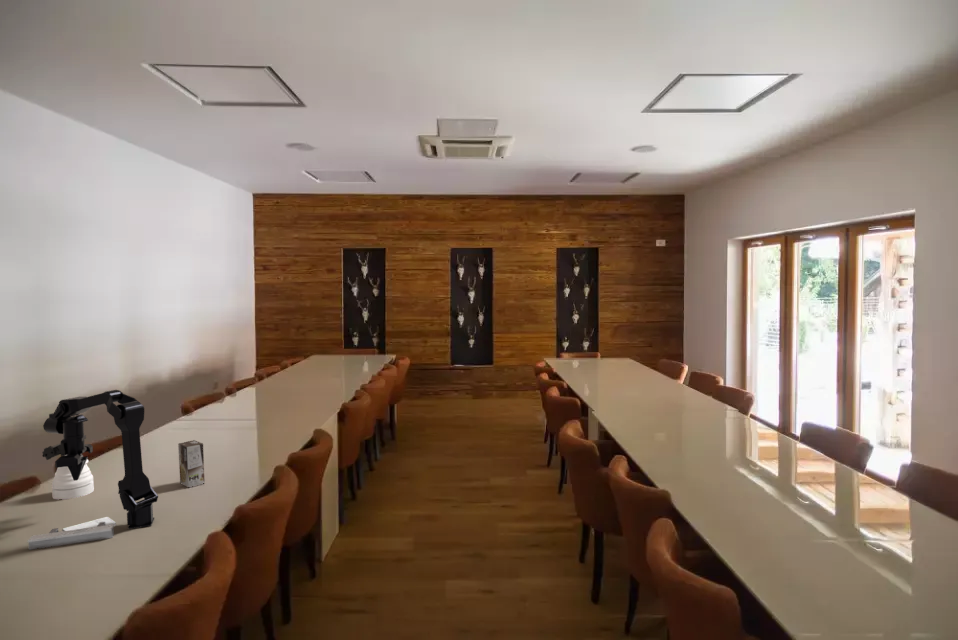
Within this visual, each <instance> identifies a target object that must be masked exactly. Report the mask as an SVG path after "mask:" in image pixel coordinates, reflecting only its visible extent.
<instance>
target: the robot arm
mask: <svg viewBox="0 0 958 640" xmlns="http://www.w3.org/2000/svg"><path fill="white" fill-rule="evenodd" d="M115 403H118V404H117V405H116V404H115ZM102 405H105V406H106V412H107V413H108V414H109V415H110V416H111V417H113V420H114V424H115V425H116V427H117V428H118V429H119V430H120V432H121V442H122V443H121V444H122V456H123V465H124V467H123V468H124V476H123V478H122V479H121V480H118V482H117V486H118V487H117V488H118V491H117V492H118V495H119V499H120V502H121V504H122V507H123V510H124V511H126V512H127V513H126V521H127V526H128V527H127V529H128V530H131V529H137V528H138V529H139V528H145V527H151V526H152V525H153V523H154V521H155V517H154V509H153V508H154V506H153V505H154V503H157V502H158V499H159V495H158V494H157V492H156V491H155V490H154V488H153V487H152V486H151V484H150V479H149V477H148V476H147V474H145V473H144V469H143V459H142V458H143V457H142V445H141V434H140V433H141V431H140V428H141V427H142V425H143V423H144V420H145V406H144V405H143V404H142V403H141V402H140V401H139V400H137V399H136V398H135V397H133V396H130V395H128V394H125V393H124V392H122V391H121V390H119V389H112V390H106V391H103V392H102V393H98V394H94V395H91V396H75V397H71V398H67V399H66V398H64V399H60V401H59V402H58V404H57V406H56V408H55V410H54V412H53V413H49V414H48V418H46V420H45V421H44V423H43V424H42V425H43V426H42V427H43V430H44V432H46V433H48V434H56V435H57V434H58V435H59V434H60V435H63V439H62V440H61V441H60V443H57V444H55V445H53V446H52V445H50V446H48V447H45V448H43V450H42V457H43V458H45V459H46V461H48V460H51V459H52V458H55V457H57V456H59V455H60V457H58V458H57V459H56V460H55V461H54V468H56V469H57V468H58V467H68V468H69V470H70V472H71V475H72V477H73V480H74V481H75V480H78V479H79V477H80V474H81V472H82V469H83V467H84V465H85V463H86V460H87V459H88V458H89V456H87V455H86V456H84V454H83V453H87V452H88V454H92V453H93V452H94V450H93V449H94V448H93V447H94V446H93V445H92V444H90V443H85V440H86V439H87V435H86V434H85V428H84V425H85V423H84V422H87V421H89V419H88V418H87V417H86V416H84V414H85V412H87V411H90V409H91V408H94V407H98V406H102ZM83 413H84V414H83ZM65 455H66V456H65ZM136 501H137V502H136Z"/></svg>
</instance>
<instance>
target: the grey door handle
mask: <svg viewBox="0 0 958 640" xmlns="http://www.w3.org/2000/svg"><path fill="white" fill-rule="evenodd" d="M114 528H115V526H114V524H112V525H105V522H100V523H99V524H98V526H97V527H90V528H83V529H76V530H69V531H62V530H61V531H59V527H58V528H55V527H54V528H52V529H51V530H50V531H49V532H48V533H41V534H34V535H31V536H30V537H29V538H28V539H27V543H28V550H29V551H31V550H37V548H39V549H45V547H46V548H51V546H52V547H58V546H65V545H73V544H80V543H85V542H86V543H87V542H93V541H100V540H107V539H112V538H113V537H114V536H115V529H114Z"/></svg>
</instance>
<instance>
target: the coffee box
mask: <svg viewBox="0 0 958 640" xmlns="http://www.w3.org/2000/svg"><path fill="white" fill-rule="evenodd" d="M177 445H178V446H177V447H178V466H179V483H180V482H181V483H182V484H181V483H180V484H181V485H183V484H184V485H183V486H185V487H186V486H187V487H186V488H188V487H190V488H192V486H194V487H197V486H196V485H198V486H201V485H200V484H202V485H204V484H203V483H205V462H204V461H205V460H204V459H205V458H204V443H203V442H200V441H197V440H195V439H193V440H188V441H184V442H179V443H177Z"/></svg>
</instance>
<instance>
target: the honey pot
mask: <svg viewBox="0 0 958 640" xmlns="http://www.w3.org/2000/svg"><path fill="white" fill-rule="evenodd" d="M65 456H66V455H65ZM89 462H90V461H89V459H88V458H87V460H86V463H85V465H84V467H83V469H82V472H81V474H80V477H79V479H78V480H75V481H74V480H73V477H72V475H71V472H70V470H69V468H68V467H58V468H56V471H55V473H54V477H53V480H52V483H51V492H52V493H51V494H52V499H53V500H59V499H62V500H71V498H72V499H76V497H77V498H81V497H84V496H87V495H89V494H91V493H93V492H94V491H95V484H94V475H93V474H92V471H91V470H90V469H91V468H90V467H89V465H88V463H89ZM80 496H81V497H80Z"/></svg>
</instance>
